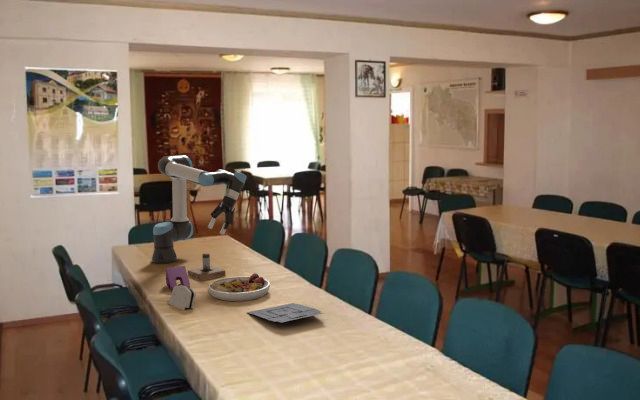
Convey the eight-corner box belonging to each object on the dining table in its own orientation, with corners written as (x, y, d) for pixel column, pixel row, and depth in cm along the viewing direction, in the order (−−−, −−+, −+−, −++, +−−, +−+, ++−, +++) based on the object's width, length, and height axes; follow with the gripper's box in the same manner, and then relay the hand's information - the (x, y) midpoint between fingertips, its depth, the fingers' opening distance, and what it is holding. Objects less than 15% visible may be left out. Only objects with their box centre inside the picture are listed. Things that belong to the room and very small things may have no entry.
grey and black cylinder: (201, 275, 325) (200, 254, 323) (208, 274, 327) (207, 253, 326) (205, 276, 322) (204, 255, 320) (211, 275, 324) (211, 254, 323)
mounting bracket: (190, 301, 297) (184, 278, 311) (191, 288, 293) (184, 265, 307) (171, 304, 293) (165, 280, 308) (171, 291, 289) (166, 267, 303)
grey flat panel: (277, 330, 234) (276, 321, 234) (246, 318, 260) (245, 310, 260) (328, 318, 247) (327, 310, 247) (293, 308, 273) (293, 301, 272)
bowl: (244, 307, 269) (243, 290, 268) (196, 297, 285) (195, 281, 284) (281, 290, 294) (281, 275, 293) (235, 282, 310) (235, 268, 309)
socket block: (188, 275, 325) (187, 270, 325) (211, 270, 335) (211, 265, 335) (201, 280, 314) (201, 275, 314) (225, 275, 324) (225, 270, 324)
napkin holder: (166, 302, 276) (171, 282, 277) (174, 303, 279) (180, 283, 280) (183, 310, 263) (189, 289, 264) (192, 312, 267) (198, 290, 268)
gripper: (247, 204, 330) (232, 238, 328) (224, 195, 348) (209, 228, 346) (237, 199, 325) (221, 234, 323) (214, 191, 343) (199, 224, 341)
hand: (215, 231), depth 335 cm, fingers open, 13 cm apart
